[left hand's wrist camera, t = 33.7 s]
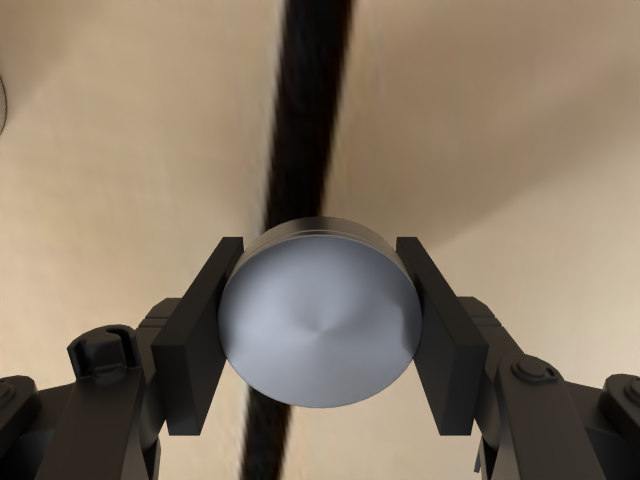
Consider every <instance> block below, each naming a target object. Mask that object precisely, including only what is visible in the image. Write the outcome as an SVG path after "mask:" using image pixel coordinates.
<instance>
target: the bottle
mask: <svg viewBox="0 0 640 480" xmlns="http://www.w3.org/2000/svg"><path fill="white" fill-rule="evenodd" d="M5 116H6V100H5V94H4V89H3V86H2V83H1V80H0V132H1V130H2V128H3V125H4V121H5Z"/></svg>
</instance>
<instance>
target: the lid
mask: <svg viewBox="0 0 640 480" xmlns="http://www.w3.org/2000/svg"><path fill="white" fill-rule="evenodd" d="M422 323H423V314H422V307H421V302H420V299H419V296H418V293H417V291H416V289H415V287H414V285H413V283H412V281H411V279H410V277H409V275H408V273H407V271H406V269H405V267H404V264H403V262H402V260H401V259H400V257H399V256H398V254H397V253H396V252H395V250H394V249H393V248H392V247H391V246H390V245H389V244H388V243H387V242H386V241H385V240H384V239H383V238H381V237H380V236H379V235H378V234H376V233H375V232H373V231H371V230H370V229H368V228H366V227H364V226H362V225H359V224H357V223H355V222H351V221H348V220H344V219H339V218H333V217H307V218H300V219H296V220H291V221H288V222H286V223H283V224H280V225H278V226H276V227H274V228H272V229H270V230H268V231H267V232H265V233H264V234H262V235H261V236H259V237H258V238H257V239H256V240H255V241H254V242H253V243H251V244H250V245H249V246H248V248H247V249H246V250H245V251H244V253H243V254H242V255H241V257H240V259H239V260H238V262H237V264H236V266H235V268H234V270H233V272H232V274H231V276H230V278H229V280H228V282H227V284H226V286H225V288H224V290H223V293H222V295H221V298H220V302H219V306H218V311H217V326H218V334H219V340H220V344H221V347H222V349H223V352H224V354H225V356H226V358H227V359H228V361H229V363H230V365H231V366H232V367H233V368H234V370H235V371H236V372H237V374H238V375H239V376H240V377H241V378H242V379H243V380H244V381H246V382H247V383H248V384H249V385H251V386H252V387H253V388H254V389H256V390H258V391H259V392H261V393H263V394H264V395H266V396H269V397H271V398H273V399H275V400H278V401H281V402H284V403H286V404H291V405H295V406H300V407H308V408H332V407H339V406H345V405H349V404H353V403H356V402H359V401H362V400H364V399H367V398H369V397H371V396H373V395H375V394H377V393H379V392H381V391H382V390H383V389H385V388H386V387H388V386H389V385H390V384H392V383H393V382H394V381H395V380H396V379H397V378H398V377H399V376H400V375H401V374H402V373H403V372H404V371H405V370H406V368H407V367H408V365H409V364H410V362H411V361H412V359H413V357H414V355H415V353H416V351H417V349H418V346H419V343H420V340H421V332H422Z"/></svg>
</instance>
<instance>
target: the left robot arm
mask: <svg viewBox="0 0 640 480" xmlns="http://www.w3.org/2000/svg"><path fill="white" fill-rule="evenodd" d="M243 253H244V246H243V237H223V238H222V240H221V241H220V243H219V244H218V246H217V247H216V248H215V250H214V251H213V253H212V254H211V256H210V257H209V259H208V260H207V262H206V263H205V265H204V266H203V268H202V269H201V271H200V272H199V274H198V275H197V277H196V278H195V280H194V281H193V283H192V284H191V286H190V287H189V289H188V290H187V292H186V293H185V295H184V296H183V297H182V298H166V299H164V300H163V301H161V302H160V303H158V304H157V305H155V306H154V307H153V308H152V309H151V310H150V312H149V313H148V314H147V315H146V317H145V319H143V321H142V322H141V323H140V324H139V327H138V328H136V329H135V330H133V329H132V328H131V327H130V326H126V325H121V324H119V325H107V326H103V327H99V328H95V329H93V330H91V331H88V332H86V333H84V334H82V335H81V336H79V337H78V338H76V339H75V340H73V341H72V342H71V344H70V345H69V346H68V347H67V351H68V354H69V357H70V360H71V364H72V367H73V370H74V373H75V376H76V381H75V383H71V384H68V385H63V386H58V387H54V388H49V389H45V390H40V391H38V390H37V387H36V384H35V382H34V380H32V379H31V378H30V377H28V376H20V375H17V376H10V377H4V378H1V379H0V480H158V474H159V464H160V455H161V446H160V440H159V436H158V434H159V432H160V430H161V428H162V426H163V424H164V422H165V419H166V423H167V427H168V432H169V436H200V433H201V430H202V428H203V425H204V422H205V419H206V416H207V413H208V411H209V408H210V405H211V402H212V399H213V396H214V393H215V391H216V388H217V385H218V382H219V379H220V376H221V374H222V371H223V368H224V365H225V362H226V359H227V358H226V356H225V354H224V352H223V349H222V347H221V344H220V340H219V334H218V326H217V311H218V306H219V302H220V298H221V295H222V293H223V290H224V288H225V286H226V284H227V282H228V280H229V278H230V276H231V274H232V272H233V270H234V268H235V266H236V264H237V262H238V260H239V259H240V257H241V255H242V254H243ZM396 253H397V254H398V256H399V257H400V259H401V260H402V262H403V264H404V267H405V269H406V271H407V273H408V275H409V277H410V279H411V281H412V283H413V285H414V287H415V289H416V291H417V293H418V296H419V299H420V302H421V307H422V314H423V323H422V332H421V340H420V343H419V346H418V349H417V351H416V353H415V355H414V357H413V360H414V363H415V366H416V368H417V371H418V374H419V377H420V380H421V383H422V386H423V388H424V391H425V394H426V397H427V400H428V403H429V406H430V408H431V411H432V414H433V417H434V420H435V423H436V425H437V428H438V431H439V434H440V436H471V431H472V426H473V421H474V418H475V420H476V422H477V424H478V427H479V429H480V431H481V433H482V436H481V440H480V445H479V449H478V454H477V458H476V463H475V469H474V472H477V473H479V471H480V466H481V473H482V480H640V377H638V376H634V375H628V374H615V375H611V376H610V377H608V378H607V379H606V381H605V384H604V386H603V389H598V388H593V387H589V386H584V385H580V384H575V383H571V382H567V381H564V379H563V377H562V376H561V374H560V373H559V371H558V370H557V369H555V368H554V367H553V366H551V365H550V364H549V363H547V362H545V361H543V360H541V359H539V358H537V357H534V356H530V355H527V354H524V352H523V351H522V350H521V349H520V347H519V346H518V345H517V343H516V342H515V341H514V340H513V338H512V337H511V336H510V335H509V333H508V332H507V331H506V329H505V328H504V327H502V326H501V325H502V324H501V323H500V322H499V321H498V319H497V318H495V315H494V314H493V313H492V312H491V310H490V309H489V308H488V307H487V305H485V304H484V303H482V302H481V301H479V300H477V299H476V298H474V297H457V296H456V295H455V293H454V292H453V290H452V289H451V287H450V286H449V284H448V283H447V282H446V280H445V279H444V277H443V276H442V274H441V273H440V271H439V270H438V268H437V267H436V265H435V264H434V262H433V261H432V259H431V258H430V256H429V255H428V253H427V252H426V250H425V249H424V247H423V246H422V244H421V243H420V241H419V240H418V238H417V237H397V243H396Z"/></svg>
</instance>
